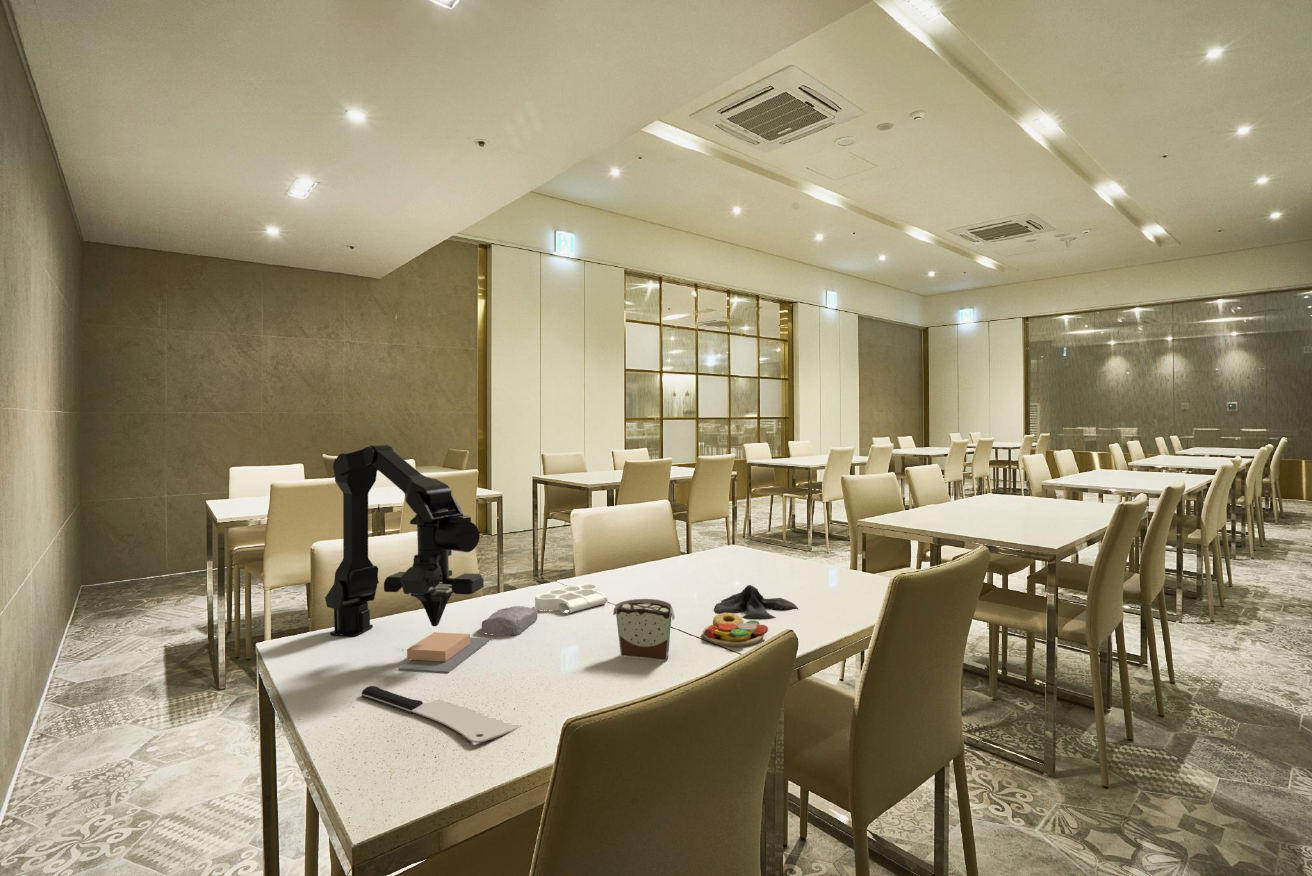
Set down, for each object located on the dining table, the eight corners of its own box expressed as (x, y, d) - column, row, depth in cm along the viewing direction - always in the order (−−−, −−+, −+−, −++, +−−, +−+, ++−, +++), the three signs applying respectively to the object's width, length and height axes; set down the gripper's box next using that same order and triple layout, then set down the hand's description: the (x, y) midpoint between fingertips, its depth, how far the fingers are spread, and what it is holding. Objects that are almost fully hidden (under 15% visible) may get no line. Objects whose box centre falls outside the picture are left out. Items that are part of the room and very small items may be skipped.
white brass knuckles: (558, 619, 150) (524, 607, 160) (617, 603, 162) (582, 593, 173) (558, 605, 150) (524, 594, 160) (617, 590, 162) (582, 580, 173)
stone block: (479, 643, 139) (521, 636, 137) (474, 621, 139) (517, 614, 137) (502, 628, 151) (541, 621, 149) (498, 607, 151) (537, 600, 149)
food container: (683, 650, 127) (682, 600, 127) (674, 662, 121) (673, 609, 121) (625, 644, 131) (624, 596, 131) (613, 655, 125) (612, 604, 125)
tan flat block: (407, 649, 123) (445, 651, 122) (434, 632, 133) (469, 634, 132) (407, 660, 124) (445, 662, 122) (434, 642, 133) (470, 644, 132)
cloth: (806, 606, 158) (805, 581, 158) (775, 626, 142) (775, 599, 142) (725, 594, 170) (725, 571, 170) (689, 611, 155) (689, 586, 155)
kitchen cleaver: (531, 717, 98) (480, 737, 90) (530, 729, 98) (479, 750, 90) (404, 676, 115) (352, 690, 107) (404, 686, 115) (351, 700, 107)
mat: (398, 670, 119) (398, 668, 119) (447, 637, 137) (447, 636, 137) (448, 672, 118) (448, 671, 118) (491, 639, 135) (491, 638, 135)
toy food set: (722, 624, 144) (722, 609, 144) (777, 634, 137) (776, 619, 137) (690, 641, 133) (690, 625, 133) (748, 653, 126) (747, 637, 126)
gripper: (365, 555, 121) (367, 637, 121) (456, 557, 118) (459, 641, 118) (399, 544, 132) (401, 619, 132) (483, 545, 129) (485, 622, 129)
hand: (435, 625), depth 128 cm, fingers closed
